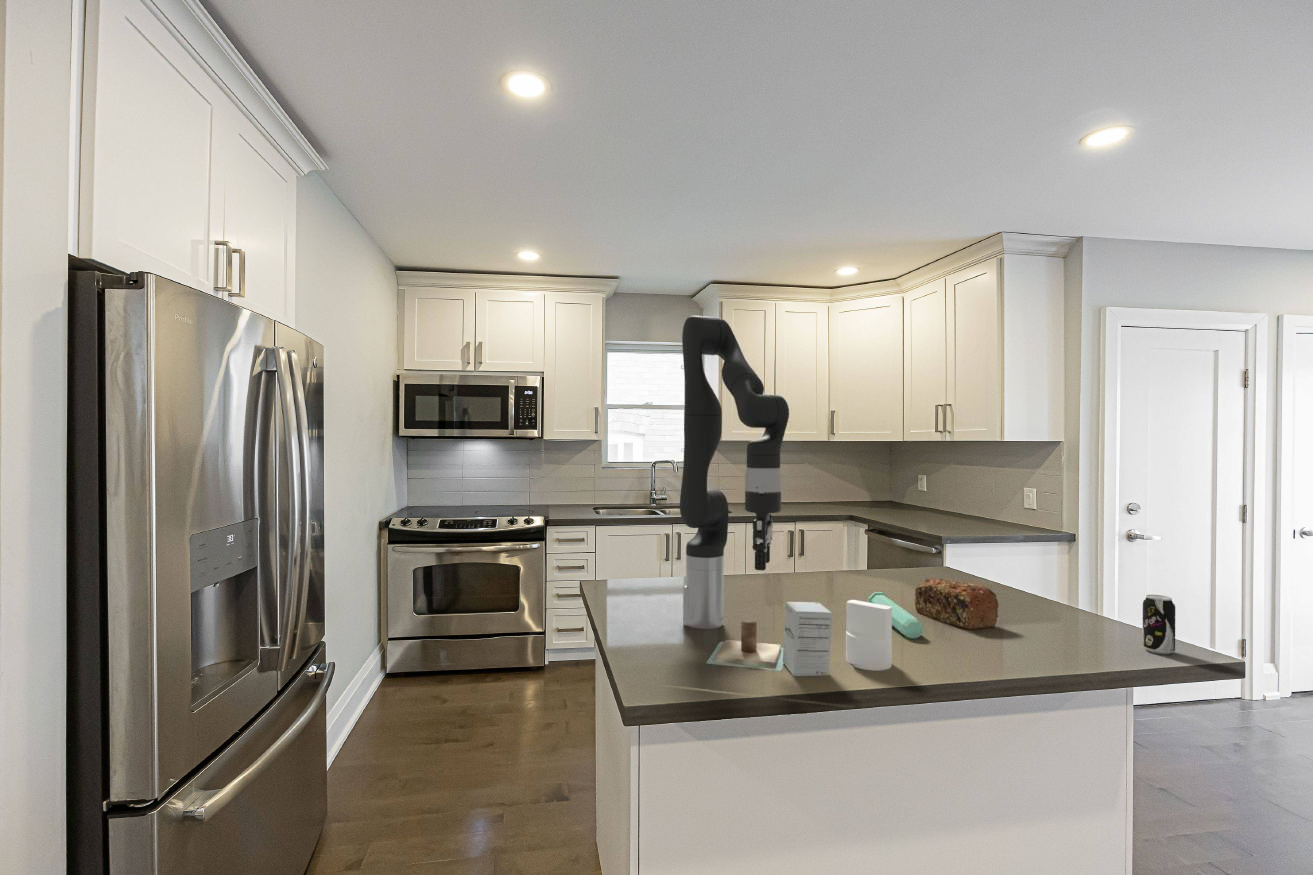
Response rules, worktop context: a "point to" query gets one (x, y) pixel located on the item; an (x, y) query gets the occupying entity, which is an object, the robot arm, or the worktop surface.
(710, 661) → the mat
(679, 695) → the worktop surface
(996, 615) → the bread
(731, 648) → the lid
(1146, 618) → the beverage can
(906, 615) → the container
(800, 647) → the supplement box
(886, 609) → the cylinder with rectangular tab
